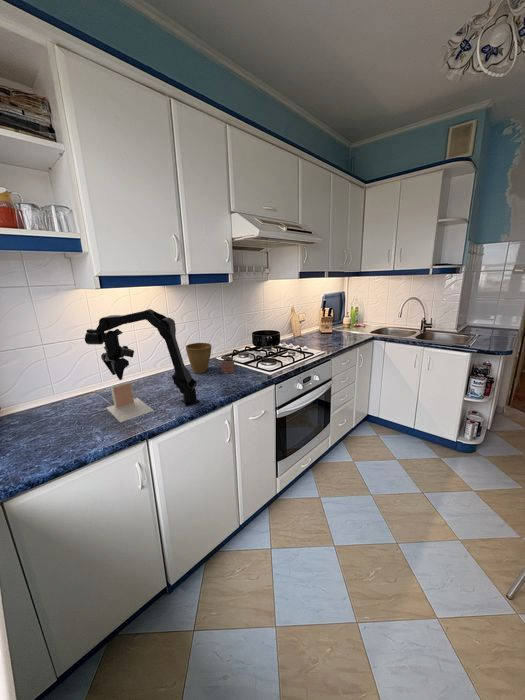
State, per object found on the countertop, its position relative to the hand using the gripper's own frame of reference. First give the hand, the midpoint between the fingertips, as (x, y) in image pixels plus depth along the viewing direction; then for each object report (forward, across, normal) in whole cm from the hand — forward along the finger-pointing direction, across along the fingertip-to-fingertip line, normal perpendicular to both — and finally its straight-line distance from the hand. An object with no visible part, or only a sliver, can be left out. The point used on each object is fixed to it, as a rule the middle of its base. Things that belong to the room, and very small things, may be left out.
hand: (117, 377), depth 133 cm
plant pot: (+12, +8, -49) cm, 51 cm away
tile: (+12, -6, 0) cm, 13 cm away
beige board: (+12, -12, 0) cm, 17 cm away
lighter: (+12, -6, -59) cm, 60 cm away
